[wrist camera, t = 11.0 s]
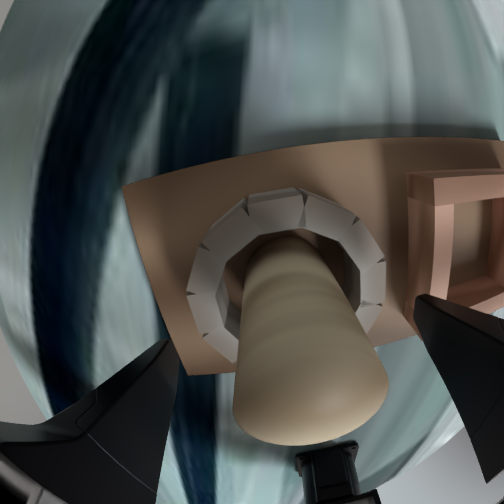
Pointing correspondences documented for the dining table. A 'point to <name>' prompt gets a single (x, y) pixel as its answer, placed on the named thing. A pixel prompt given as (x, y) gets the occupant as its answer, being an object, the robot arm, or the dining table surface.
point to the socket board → (328, 174)
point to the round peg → (301, 351)
